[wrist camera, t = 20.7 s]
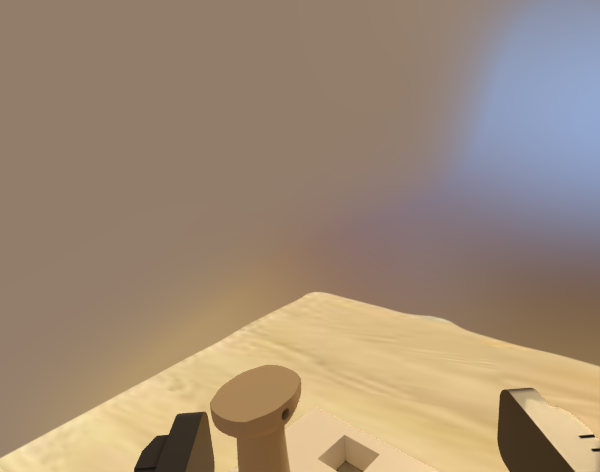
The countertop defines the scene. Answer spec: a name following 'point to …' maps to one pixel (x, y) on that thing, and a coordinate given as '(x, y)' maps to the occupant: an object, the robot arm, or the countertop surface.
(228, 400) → the handle
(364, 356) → the countertop surface
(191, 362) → the countertop surface
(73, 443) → the countertop surface
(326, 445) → the plate
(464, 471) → the countertop surface
